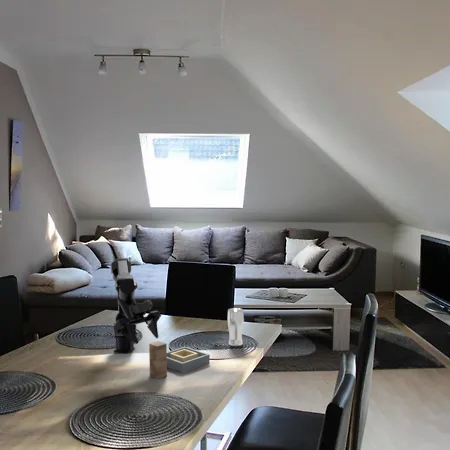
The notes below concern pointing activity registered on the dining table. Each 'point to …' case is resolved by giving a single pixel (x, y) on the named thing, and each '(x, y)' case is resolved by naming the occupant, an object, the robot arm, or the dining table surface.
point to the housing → (186, 359)
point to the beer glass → (235, 326)
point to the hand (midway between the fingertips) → (147, 340)
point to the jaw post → (158, 359)
